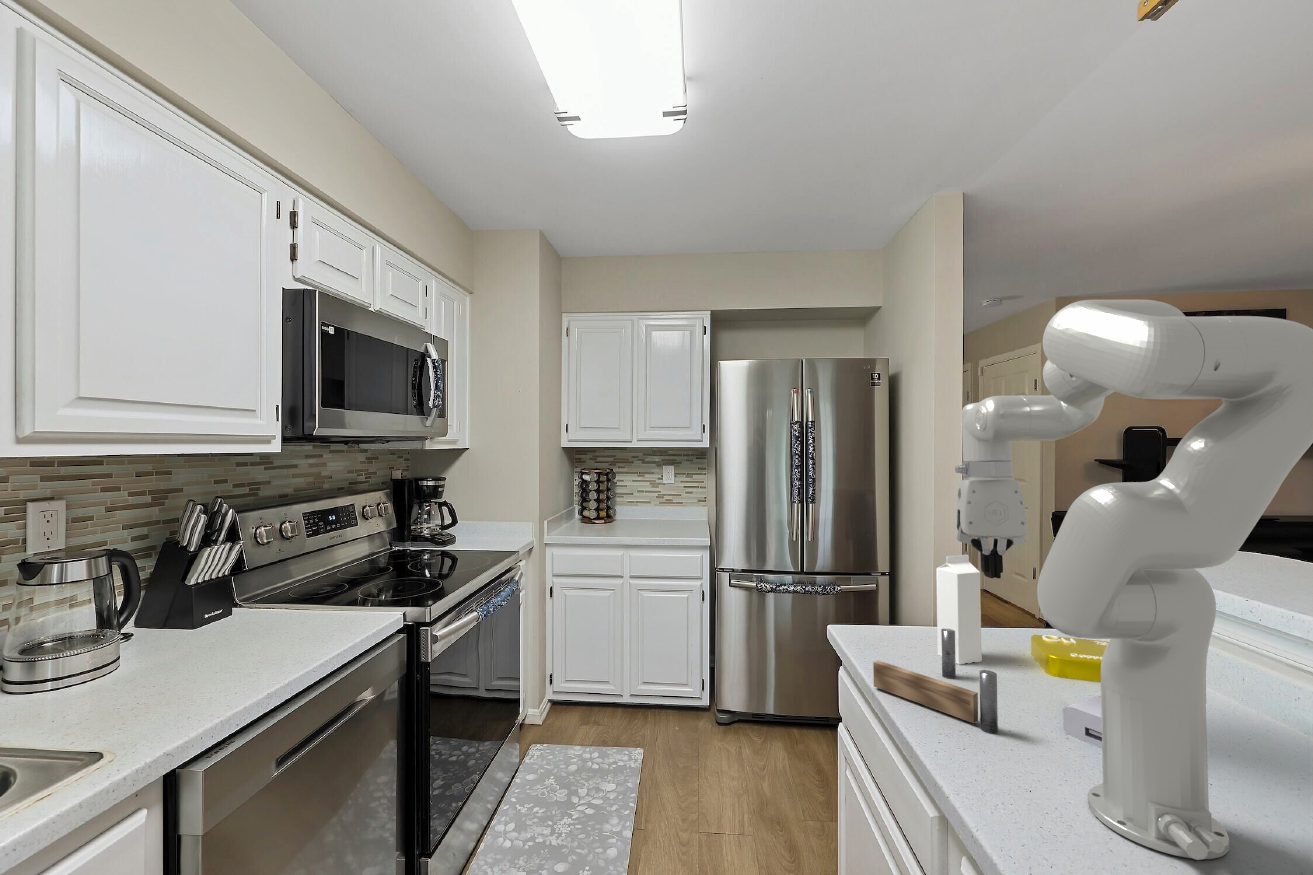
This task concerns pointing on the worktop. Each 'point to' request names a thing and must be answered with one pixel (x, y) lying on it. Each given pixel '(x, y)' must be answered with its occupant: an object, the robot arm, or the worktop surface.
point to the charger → (1084, 720)
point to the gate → (927, 691)
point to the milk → (960, 607)
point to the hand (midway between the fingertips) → (992, 576)
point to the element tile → (1069, 656)
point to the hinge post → (988, 701)
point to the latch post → (948, 653)
